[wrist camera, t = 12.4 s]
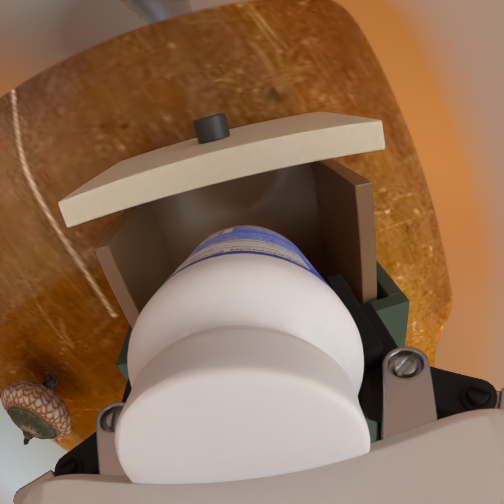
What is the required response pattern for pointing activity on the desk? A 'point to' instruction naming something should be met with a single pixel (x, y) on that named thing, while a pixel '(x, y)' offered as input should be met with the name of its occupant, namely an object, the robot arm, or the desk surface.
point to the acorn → (37, 409)
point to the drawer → (237, 200)
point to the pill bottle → (241, 368)
